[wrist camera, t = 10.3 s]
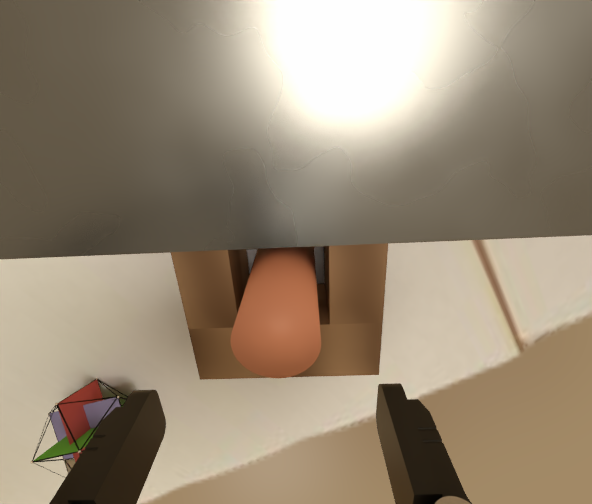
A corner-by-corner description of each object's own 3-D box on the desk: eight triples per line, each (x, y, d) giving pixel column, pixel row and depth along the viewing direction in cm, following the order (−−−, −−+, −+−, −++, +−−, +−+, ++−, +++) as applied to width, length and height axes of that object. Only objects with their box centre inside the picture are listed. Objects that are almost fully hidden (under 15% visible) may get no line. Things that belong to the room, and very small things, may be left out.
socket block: (217, 332, 26) (200, 379, 22) (178, 121, 20) (141, 126, 15) (365, 327, 26) (378, 374, 21) (374, 111, 19) (397, 112, 15)
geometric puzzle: (25, 382, 26) (-3, 505, 22) (97, 363, 25) (82, 488, 21) (95, 389, 32) (83, 486, 28) (156, 374, 31) (152, 472, 27)
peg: (261, 276, 24) (236, 379, 15) (256, 226, 23) (224, 307, 13) (314, 274, 24) (322, 377, 15) (313, 223, 22) (320, 304, 13)
